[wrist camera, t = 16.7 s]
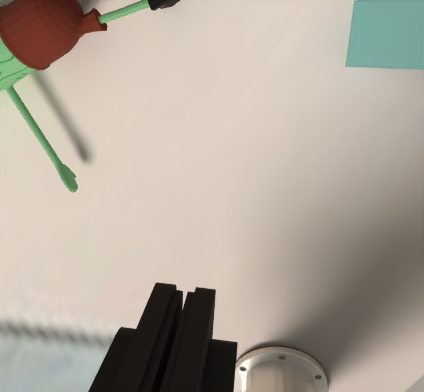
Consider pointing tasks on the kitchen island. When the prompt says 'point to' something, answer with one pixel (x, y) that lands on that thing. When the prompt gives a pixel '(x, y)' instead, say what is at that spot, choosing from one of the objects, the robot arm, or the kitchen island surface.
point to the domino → (387, 34)
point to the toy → (49, 47)
